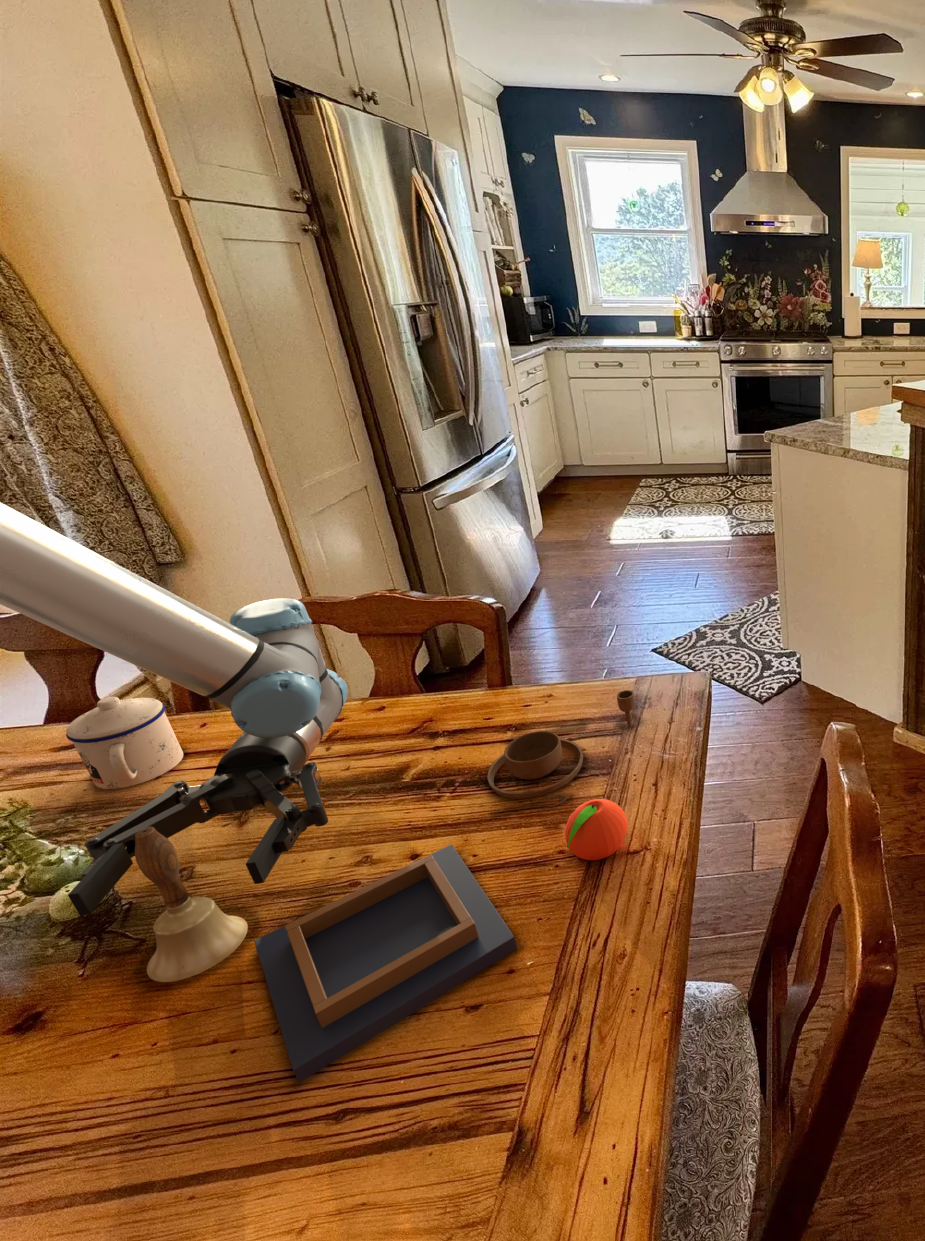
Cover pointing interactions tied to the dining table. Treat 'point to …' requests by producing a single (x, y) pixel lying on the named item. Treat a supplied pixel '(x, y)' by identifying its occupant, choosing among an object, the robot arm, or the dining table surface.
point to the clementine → (596, 829)
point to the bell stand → (378, 957)
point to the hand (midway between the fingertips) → (169, 889)
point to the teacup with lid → (125, 741)
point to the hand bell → (183, 916)
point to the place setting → (544, 756)
